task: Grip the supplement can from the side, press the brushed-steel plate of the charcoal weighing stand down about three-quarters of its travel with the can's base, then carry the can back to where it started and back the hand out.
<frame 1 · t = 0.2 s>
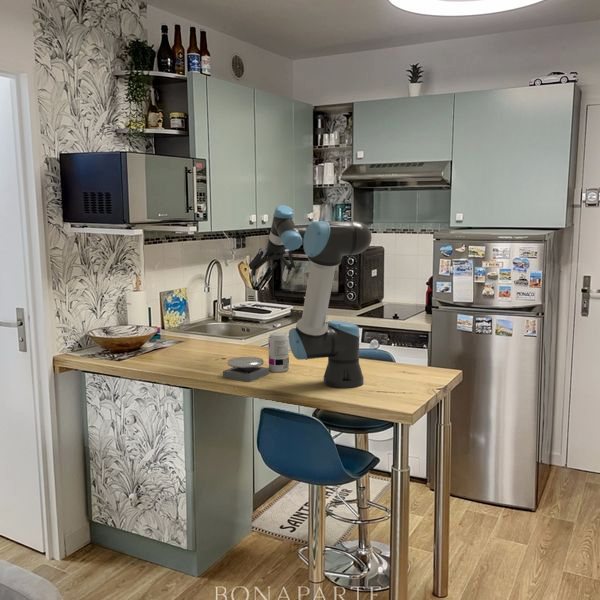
hand: (269, 280, 276), 35 cm above the table, tool tilted 35°, fingers open, 13 cm apart
scale plate: (245, 365, 252), point 4 cm above the table, slide at 0.0 cm
supplement can: (278, 370, 261), on the table
scale frame: (245, 375, 252), on the table
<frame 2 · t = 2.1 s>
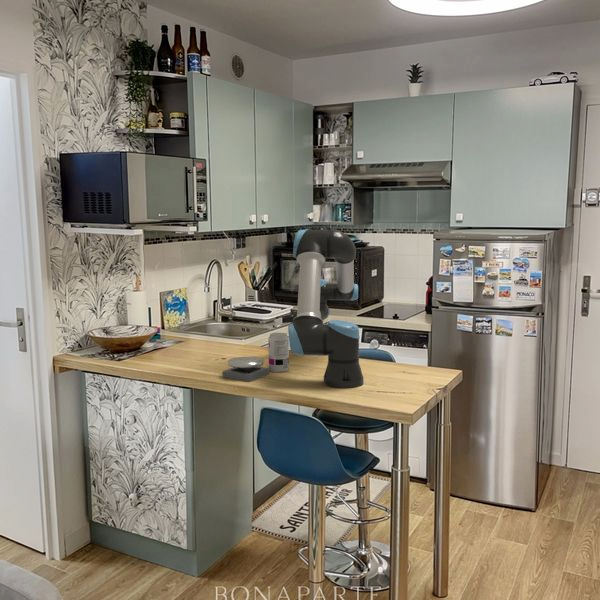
hand: (288, 324, 267), 17 cm above the table, tool horizontal, fingers open, 13 cm apart
nothing on the table moved.
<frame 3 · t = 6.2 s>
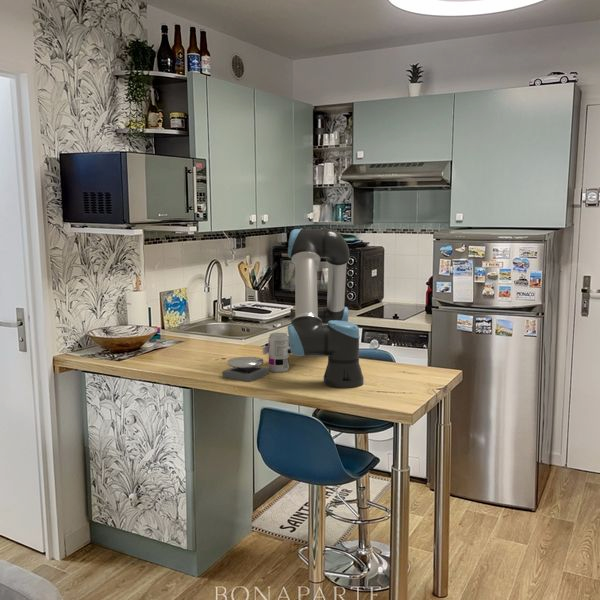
hand: (273, 352, 256), 9 cm above the table, tool horizontal, fingers closed on supplement can, 8 cm apart
supplement can: (278, 370, 261), on the table, touching gripper
everything else where it was.
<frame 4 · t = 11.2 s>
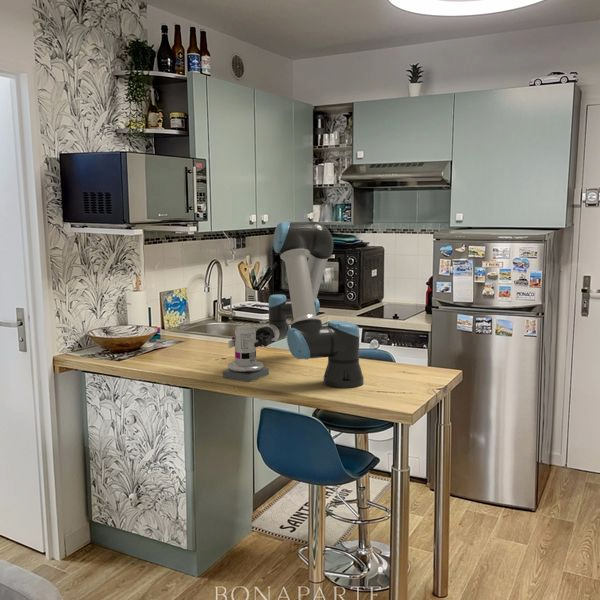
hand: (239, 345, 246), 13 cm above the table, tool horizontal, fingers closed on supplement can, 8 cm apart
scale plate: (245, 369, 252), point 3 cm above the table, slide at -1.6 cm, touching supplement can
supplement can: (245, 364, 252), point 4 cm above the table, touching gripper, scale plate
when the fingers open (10 cm above the table, at t = 17.0 s): supplement can drops 1 cm, on the table.
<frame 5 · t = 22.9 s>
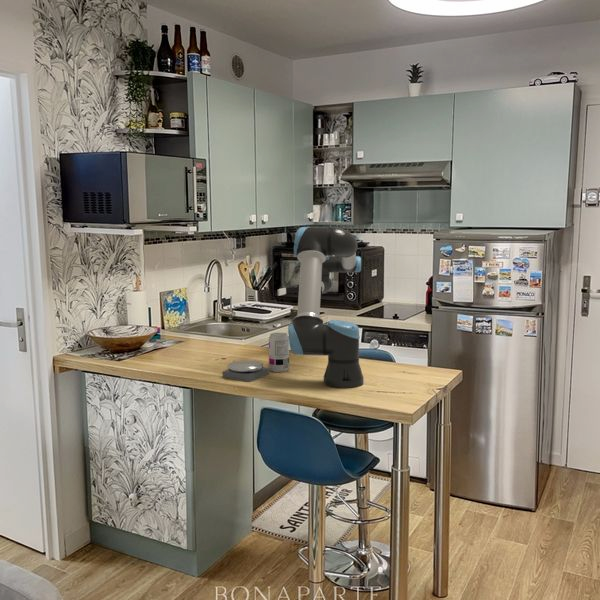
hand: (292, 293, 270), 30 cm above the table, tool horizontal, fingers open, 13 cm apart
scale plate: (245, 369, 252), point 3 cm above the table, slide at -1.6 cm
supplement can: (279, 370, 261), on the table
at the end: scale plate slide at -1.6 cm; supplement can inside the target area (0.2 cm from its centre), on the table; supplement can tilted 0° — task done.
